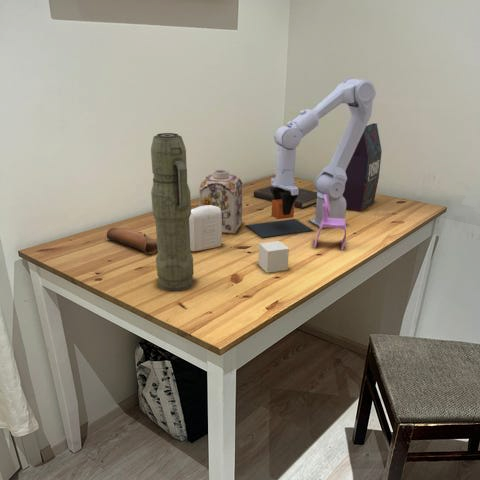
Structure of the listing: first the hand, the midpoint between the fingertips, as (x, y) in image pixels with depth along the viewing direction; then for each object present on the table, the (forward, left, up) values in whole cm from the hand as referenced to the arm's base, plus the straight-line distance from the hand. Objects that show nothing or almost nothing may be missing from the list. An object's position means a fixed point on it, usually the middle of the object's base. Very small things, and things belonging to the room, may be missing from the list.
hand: (282, 212), depth 155 cm
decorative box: (-39, -13, -6) cm, 42 cm away
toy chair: (-6, +19, -6) cm, 21 cm away
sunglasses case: (+47, -3, -6) cm, 47 cm away
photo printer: (+29, +7, -6) cm, 30 cm away
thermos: (+44, +27, -6) cm, 52 cm away
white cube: (+17, +27, -6) cm, 32 cm away
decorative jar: (+18, -8, -6) cm, 20 cm away
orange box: (0, 0, -1) cm, 1 cm away
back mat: (+1, 0, -5) cm, 5 cm away
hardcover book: (-19, -30, -6) cm, 36 cm away
